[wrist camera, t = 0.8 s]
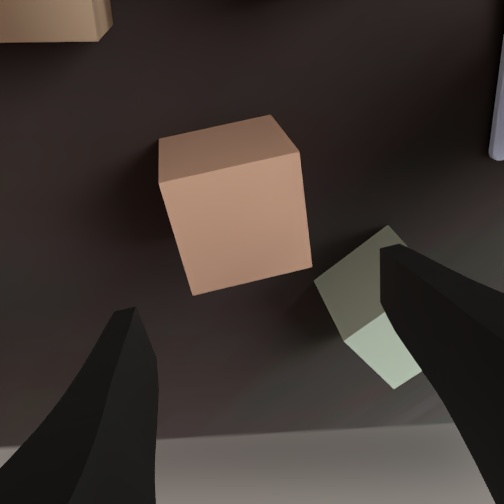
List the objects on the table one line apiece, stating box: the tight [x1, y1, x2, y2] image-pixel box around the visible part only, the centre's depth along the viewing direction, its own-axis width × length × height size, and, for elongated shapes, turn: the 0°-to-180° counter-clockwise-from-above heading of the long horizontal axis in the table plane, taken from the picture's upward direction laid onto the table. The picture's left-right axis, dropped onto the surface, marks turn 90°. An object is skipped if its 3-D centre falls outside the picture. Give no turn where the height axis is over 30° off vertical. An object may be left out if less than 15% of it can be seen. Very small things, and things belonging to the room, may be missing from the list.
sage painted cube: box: [314, 225, 422, 389], centre depth 24 cm, size 5×5×5 cm
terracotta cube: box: [159, 115, 312, 296], centre depth 19 cm, size 5×5×5 cm
